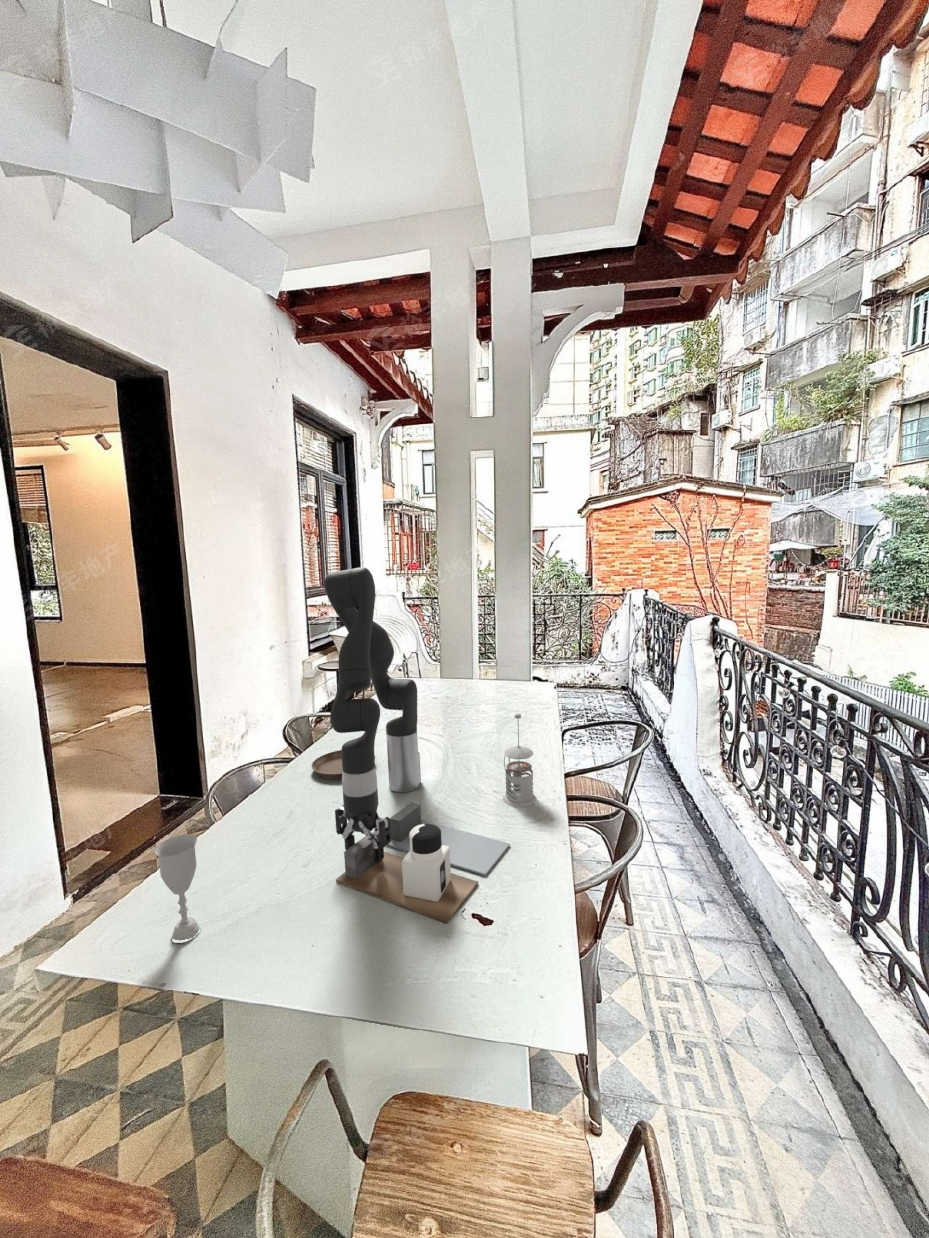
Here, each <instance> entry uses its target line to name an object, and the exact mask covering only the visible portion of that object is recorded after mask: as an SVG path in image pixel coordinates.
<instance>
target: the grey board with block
mask: <svg viewBox="0 0 929 1238" xmlns="http://www.w3.org/2000/svg"><path fill="white" fill-rule="evenodd" d="M421 807H422V806H421V804H420V803H415V802H412V801H410V802H409V803H407V804H406V805H405V806H404V807H402V808H401V809H400V810H399V811H397V812H396V813H395V814H393V815H392V816H391V817H389V819H390V831H391V842H390V843H389V844H388V845H386V847H391V848H394V849H397V850H400V851H403V852H407V853H408V852H409V851H410V837H409V833H410V831H411V830H412V829H413V828H414V827H416V826H418V825H421V824H433V825H436V826H437V827H439V828H440V830H441V840H442V845H444V846H449V847H450V867H455V868H457V869H461V870H464V871H468V872H471V873H474V874H478V875H481V876H484V877H486V876H487V875H488V874H489V873H490V871H491V870H492V869H493V868H494V866H495V865H496V863H498V861H499V860H500V859H501V857H502V856H503V855H504V853H506V851H507V850H508V849H509V848H510V846H511V843H509V842H505V841H502V840H498V839H494V838H490V837H486V836H482V835H479V834H476V833H472V832H468V831H465V830H460V829H457V828H453V827H449V826H445V825H442V824H440V823H439V824H438V823H434V822H432V821H431V822H430V821H427V820H423V819H422V809H421Z"/></svg>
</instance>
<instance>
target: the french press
mask: <svg viewBox="0 0 929 1238" xmlns="http://www.w3.org/2000/svg"><path fill="white" fill-rule="evenodd" d="M514 719H517V745H514V746H510V747H508V748H506V749H505V750H504V757H503V768H504V772H505V794H504V795H503V796H502V801H503V803H504V804H506V805H508V806H511V807H515V808H525V807H531V806H532V805H534V804H536V803H537V801H538V798H537V797H538V796H536V795H535V794H534V769H532V767H533V766H532V765H531V763H530V762H526V761H522V760H527V759H531V758H532V756H533V755H534V751H533V750H532V749H531V748H529V747H527V746H524V745H520V735H519V734H520V731H519V729H520V728H519V722H520V721H519V719H522V715H521V714H520V713H516V714H515V715H514ZM506 757H507V758H508V764H506V763H505V759H506ZM510 759H513V760H517V761H511V762H510Z"/></svg>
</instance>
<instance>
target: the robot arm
mask: <svg viewBox="0 0 929 1238" xmlns="http://www.w3.org/2000/svg"><path fill="white" fill-rule="evenodd" d="M324 589H325V593H326V596H327V598H328V601H329V603H330V605H331V607H332V608H333V610H334V611H335V613H336V614H337V616H338V618H339V619H340V621H341V623H342V624H343V625H344V627H345V628H346V630H347V635H346V636H345V638H344V640H343V642H342V643H341V647H340V649H339V652H338V680H337V681H338V683H337V688H336V694H335V697H334V699H333V704H332V706H331V711H330V714H329V721H330V726H331V727H332V729H333V731H335V732H336V733H338V734H346V733H357V732H363V734H362V735H361V736H359V737H357V738H354V739H351V740H347V741H346V742H344V743H343V744H342V746H341V749H340V750H341V755H342V769H343V774H342V779H341V784H342V785H341V786H342V787H341V788H342V799H343V804H342V805H341V806H339V807H338V808H336V809H335V810H334V817H335V830H336V831H335V832H336V834H337V835H342V838H343V840H344V849H345V851H346V850H347V849H349V848H350V847H351V846H353V845H354V844H355V843H356V841H355V838H356V837H355V834H354V833H355V832H357V833H361V834H363V835H365V836H366V837H367V839H368V840H370V841H371V843H372V844H373V846H374V848H373V852H374V863H376V864H378V863H379V862H380V861H382V859H383V858H384V852H385V851H384V849H385V847H387V845H388V844H389V843H390V842H391V831H390V817H388V816H386V817H380V816H379V814H378V807H379V792H378V790H379V789H378V776H377V775H378V774H377V770H376V756H375V757H374V755H375V741H376V735H377V731H378V727H379V723H380V719H381V707H382V708H383V709H385V710H388V711H389V710H390V711H391V710H392V711H402V714H401V715H402V716H399V717H396V718H393V719H390V720H389V721H387V723H386V725H385V730H386V731H385V735H386V748H387V749H386V751H387V752H386V753H387V768H388V769H387V770H388V771H387V772H388V785H389V789H390V791H392V792H394V793H408V792H414V791H415V790H416V789H418V788H419V787H420V785H421V784H420V783H421V782H422V773H421V770H422V769H421V754H420V752H419V742H418V741H419V740H418V686H417V684H416V683H417V682H415V680H413V679H410V678H408V679H407V678H392V677H390V676H389V673H388V670H389V668H390V667H391V665H392V662H393V660H394V656H395V648H394V646H393V643H392V641H391V639H390V636H389V634H388V632H387V631H386V630H385V628H384V627H383V626H381V625H380V624H379V623H377V622H375V621H374V613H375V603H376V584H375V580H374V576H373V575H372V572H371V571H370V570H369V569H368V568H367V567H363V566H362V567H355V568H350V569H344V570H338V571H335V572H332V573H331V572H330V573H329V574H327V575H326V576H325V578H324ZM357 607H358V608H357ZM371 683H372V685H373V689H374V692H375V695H376V697H377V700H376V699H374V698H371V697H365V698H350V697H351V695H353V694H355V693H357V692H361V691H364V690H366V689H368V688H369V687H370V686H371ZM378 702H379V703H378ZM380 706H381V707H380ZM373 830H374V831H373ZM371 832H373V833H372V834H371ZM375 836H376V837H377V839H378V841H377V840H376V838H375Z"/></svg>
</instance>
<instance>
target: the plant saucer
mask: <svg viewBox="0 0 929 1238" xmlns="http://www.w3.org/2000/svg"><path fill="white" fill-rule="evenodd" d="M374 757H375V758H376V755H375V754H374ZM311 769H312V771H313V772H314V773H316V775H318V776H319V777H321V778H324V779H328V780H342V774H343V769H342V755H341V749H340V750H334V751H331V752H328V753H325V754H322V755H320V756H319V757H317V758H315V759H314V760H313V761H312V763H311Z"/></svg>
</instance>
